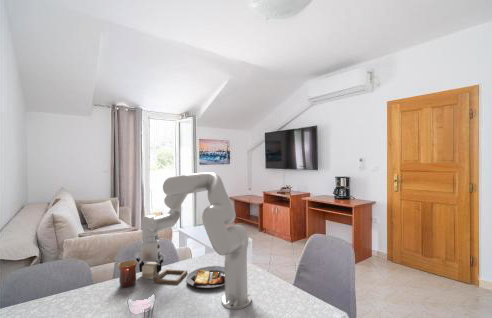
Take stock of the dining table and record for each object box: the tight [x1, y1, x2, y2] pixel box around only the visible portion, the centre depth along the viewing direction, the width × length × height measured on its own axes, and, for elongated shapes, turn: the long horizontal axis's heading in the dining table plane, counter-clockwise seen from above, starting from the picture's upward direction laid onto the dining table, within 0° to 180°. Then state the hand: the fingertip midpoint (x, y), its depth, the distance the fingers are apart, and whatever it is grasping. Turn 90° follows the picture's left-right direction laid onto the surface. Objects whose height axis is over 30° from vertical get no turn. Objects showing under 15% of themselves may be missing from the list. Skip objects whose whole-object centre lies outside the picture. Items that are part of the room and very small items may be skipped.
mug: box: [117, 259, 138, 288], centre depth 124 cm, size 12×9×10 cm
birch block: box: [141, 261, 160, 280], centre depth 135 cm, size 6×6×6 cm
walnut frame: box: [153, 268, 188, 285], centre depth 132 cm, size 12×12×2 cm
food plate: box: [185, 265, 225, 289], centre depth 129 cm, size 25×23×4 cm
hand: (150, 271), depth 135 cm, fingers open, 9 cm apart
